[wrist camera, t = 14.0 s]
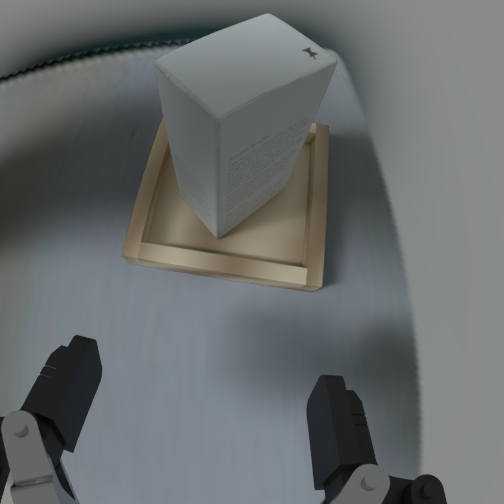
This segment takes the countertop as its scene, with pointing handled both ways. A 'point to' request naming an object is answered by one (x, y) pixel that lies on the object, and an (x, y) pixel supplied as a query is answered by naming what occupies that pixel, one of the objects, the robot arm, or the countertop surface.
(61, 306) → the countertop surface
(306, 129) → the skincare box
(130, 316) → the countertop surface
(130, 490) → the countertop surface
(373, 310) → the countertop surface
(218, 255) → the holder
